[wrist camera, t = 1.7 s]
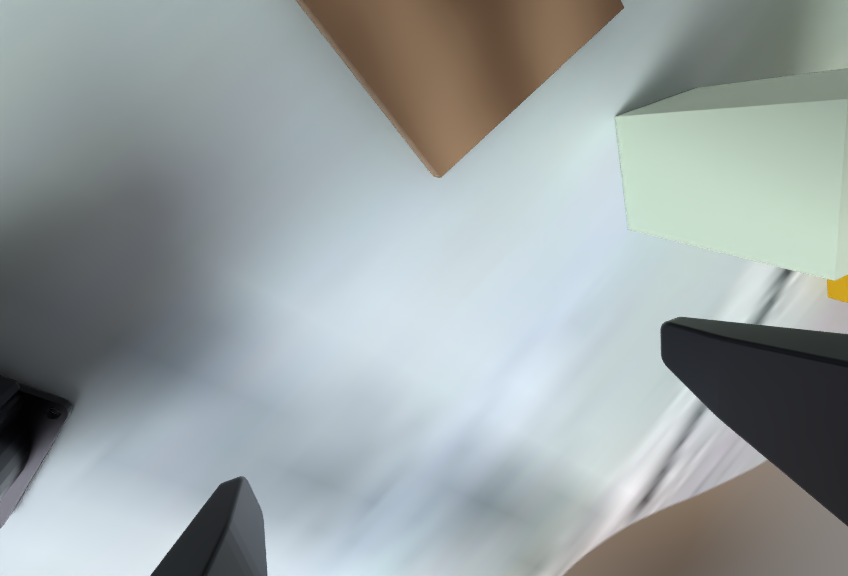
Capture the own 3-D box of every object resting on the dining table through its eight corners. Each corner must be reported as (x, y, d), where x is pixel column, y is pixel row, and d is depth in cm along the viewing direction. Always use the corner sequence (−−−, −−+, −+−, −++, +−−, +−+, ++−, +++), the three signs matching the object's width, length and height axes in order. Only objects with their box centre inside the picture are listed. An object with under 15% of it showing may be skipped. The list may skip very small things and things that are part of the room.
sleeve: (628, 229, 25) (834, 281, 16) (614, 116, 22) (847, 98, 13) (701, 199, 26) (937, 231, 16) (696, 87, 23) (966, 52, 14)
